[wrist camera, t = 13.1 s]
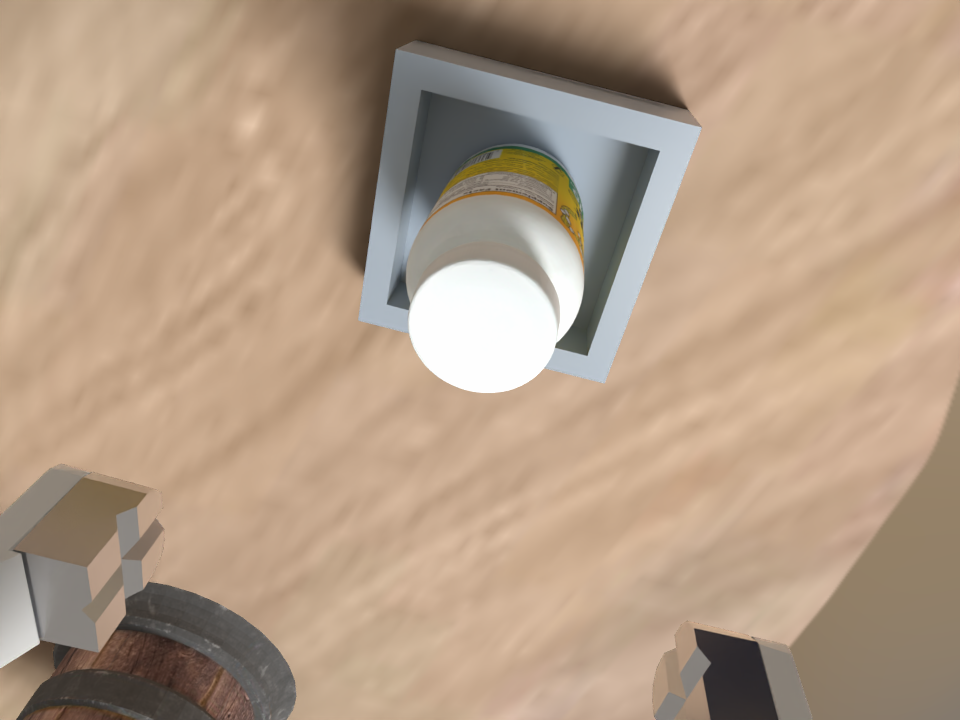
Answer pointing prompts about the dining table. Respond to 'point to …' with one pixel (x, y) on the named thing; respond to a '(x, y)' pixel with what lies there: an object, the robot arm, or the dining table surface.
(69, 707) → the tankard
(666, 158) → the tray
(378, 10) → the dining table surface
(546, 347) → the supplement bottle
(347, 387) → the dining table surface
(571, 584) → the dining table surface
